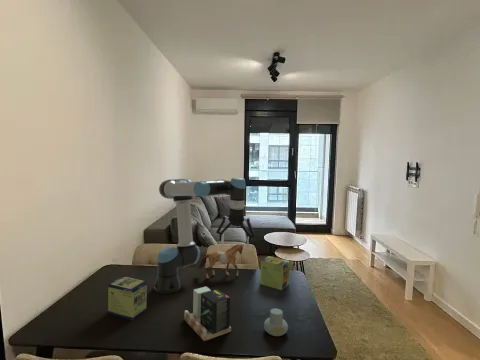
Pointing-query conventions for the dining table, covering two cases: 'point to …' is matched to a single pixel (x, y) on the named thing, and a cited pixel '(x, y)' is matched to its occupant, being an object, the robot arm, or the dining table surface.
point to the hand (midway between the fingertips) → (234, 248)
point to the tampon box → (215, 311)
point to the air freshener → (276, 323)
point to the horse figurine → (221, 258)
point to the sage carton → (198, 300)
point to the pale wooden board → (202, 327)
